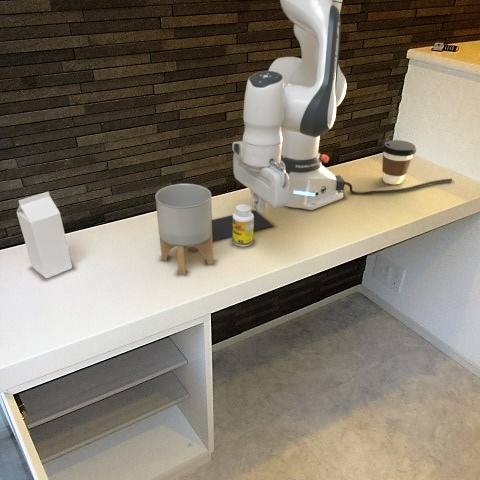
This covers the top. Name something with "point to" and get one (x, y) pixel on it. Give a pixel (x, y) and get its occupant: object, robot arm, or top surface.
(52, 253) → the milk carton
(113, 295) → the top surface
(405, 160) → the coffee cup
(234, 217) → the supplement bottle
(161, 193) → the planter
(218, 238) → the rubber mat
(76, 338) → the top surface
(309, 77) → the robot arm
